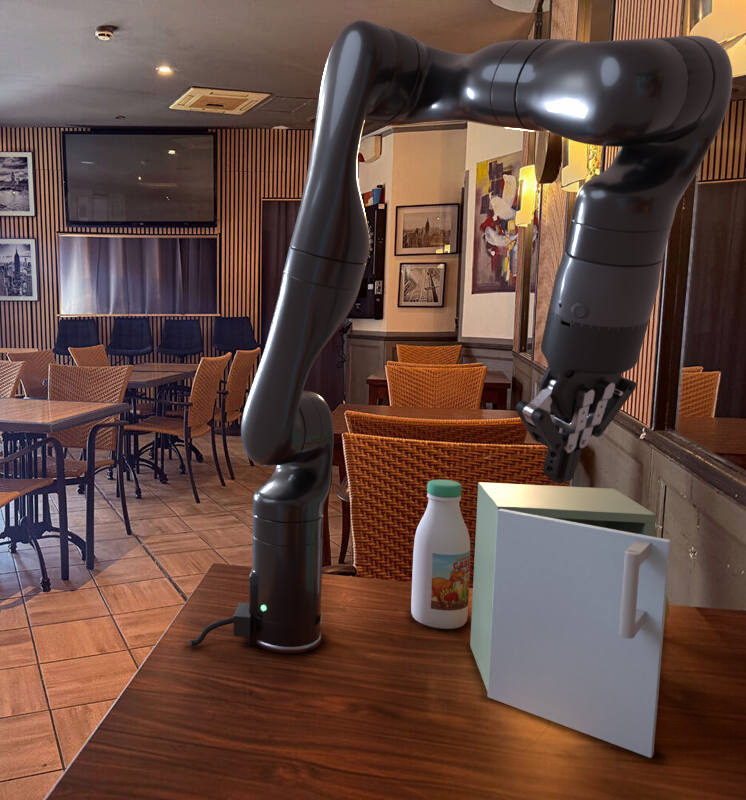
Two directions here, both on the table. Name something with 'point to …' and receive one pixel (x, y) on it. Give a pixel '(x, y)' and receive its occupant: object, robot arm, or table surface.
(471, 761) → the table surface
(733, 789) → the table surface
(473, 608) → the cabinet
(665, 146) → the robot arm
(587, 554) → the cabinet door
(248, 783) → the table surface
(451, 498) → the milk bottle
